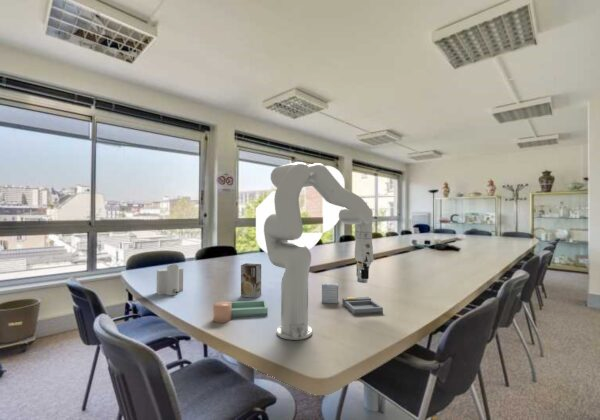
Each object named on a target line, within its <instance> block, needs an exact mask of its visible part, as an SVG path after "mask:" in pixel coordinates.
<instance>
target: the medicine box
mask: <svg viewBox="0 0 600 420" xmlns="http://www.w3.org/2000/svg"><path fill="white" fill-rule="evenodd" d="M321 303H322V304H339V283H337V282H336V283H335V282H322V284H321Z"/></svg>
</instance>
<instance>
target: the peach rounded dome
mask: <svg viewBox="0 0 600 420" xmlns="http://www.w3.org/2000/svg"><path fill="white" fill-rule="evenodd" d="M231 302H232V301H218V302H214V303H213V305H212V306H213V309H212V311H213V313H212V314H213V316H212V321H213V322H214V323H223V324H224V323H227V322H230V321H231V320H232V318H231V313H232V303H231Z"/></svg>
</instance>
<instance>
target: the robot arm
mask: <svg viewBox="0 0 600 420" xmlns="http://www.w3.org/2000/svg"><path fill="white" fill-rule="evenodd" d="M270 181H271V183H272V184H273V186H274V187H276V191H275V193H274V200H273V201H274V202H273V203H274V211H275V213H272V214H270V215H269V216H267V217H266V219H265V221H264V224H263V233H264V240H265V247H266V251H267V256H268V260H269V261H270V262H271V264H272V265H273V266H274V267H275V266H276V267H278V268H281V269H282V268H283V269H285V270H284V273H283V275H282V278H281V285H280V286H281V287H280V289H281V290H280V291H281V294H280V295H281V297H280V299H281V301H280V302H281V303H280V305H281V307H280V308H281V309H280V313H281V314H280V317H281V318H280V321H281V322H280V324H281V325H279V326H278V327H277V328H276V334H277V336H278V337H279V338H282V339H285V340H289V341H299V340H305V339H308V338H309V337H311V336H312V335H313V328H312V327H311V326H310V325H309V274H310V268H311V264H312V253H311V250H310V248H308V247H307V246H306V245H304V244H302V243H298V242H289V241H296V240H299V239H300V238H301V237H302V235H303V229H304V228H303V221H302V217H301V216H302V214H301V209H300V201H299V200H300V195H301V192H302V191H303V190H302V189H303V188H306V187H307V188H309V187H313V189H315V190H316V191H317V193H318V194H319V195H320V196H321V197H322V198H323V199H324V201H325V202H327V203H329V204H331V205H334V206H337V207H341V208H342V209H340V210H339V213H338V218H339V221H341V223H343V224H345V225H354V240H355V243H354V244H355V245H354V259H355V263H356V273H357V272H358V263H361V262H362V269H361V279H369V276H370V275H369V274H370V273H369V271H370V266H371V265H372V263H373V262H374V250H373V246H374V245H373V217H374V216H373V214H374V213H373V212H374V211H373V210H372V208H370V206H369V205H368V204H367V203H366V201H365V200H364V198H362V197H361V196H359V195H358V194H356V193H354V192H352V191H351V190H349V189H347V188H345V187H343V186H342V185H341V184H340V182H338V179H336V178H335V176H334V175H333V174H332V173H331V172H330V170H329V169H328V168H327V167H326V165H324V164H323V163H313V164H307V163H305V162H292V163H288V164H284V165H279V166H276V167H275V168H273V170H272V171H271V173H270ZM364 264H365V265H364Z"/></svg>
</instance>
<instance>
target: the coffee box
mask: <svg viewBox="0 0 600 420" xmlns="http://www.w3.org/2000/svg"><path fill="white" fill-rule="evenodd" d="M260 296H262V264H261V263H247V262H246V263H243V264H241V265H240V297H242V298H244V297H245V298H251V299H253V298H254V299H255V298H256V299H257V298H259V297H260Z"/></svg>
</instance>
